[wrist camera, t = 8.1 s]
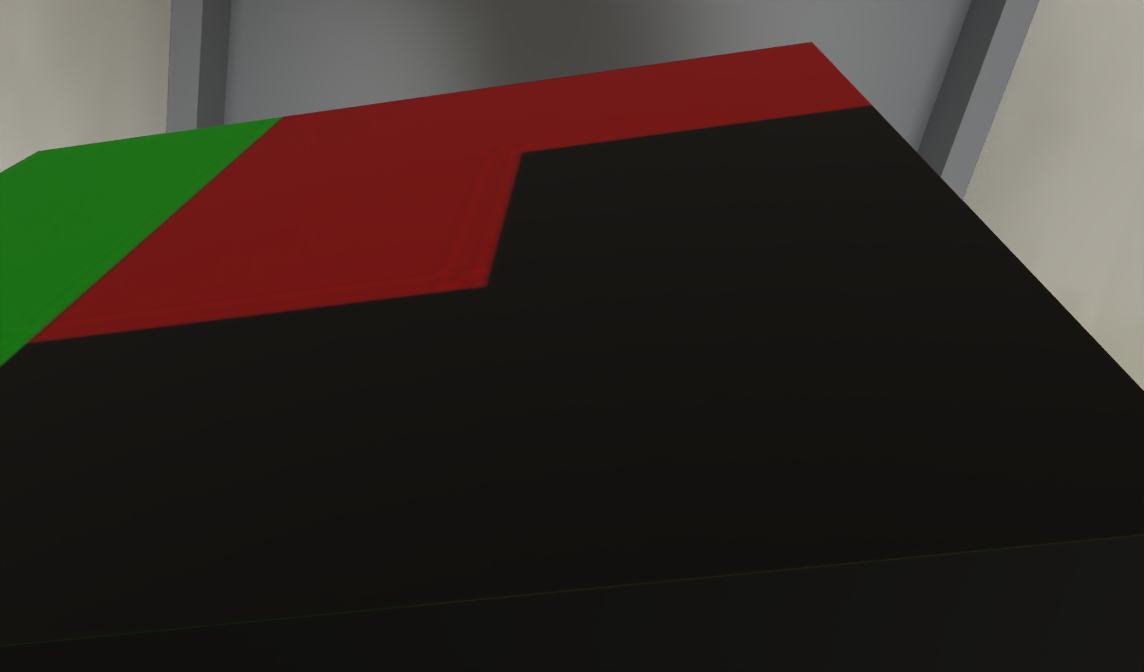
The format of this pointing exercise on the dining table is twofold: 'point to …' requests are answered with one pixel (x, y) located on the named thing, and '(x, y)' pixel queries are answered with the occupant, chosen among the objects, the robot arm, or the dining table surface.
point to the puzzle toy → (551, 396)
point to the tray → (590, 54)
